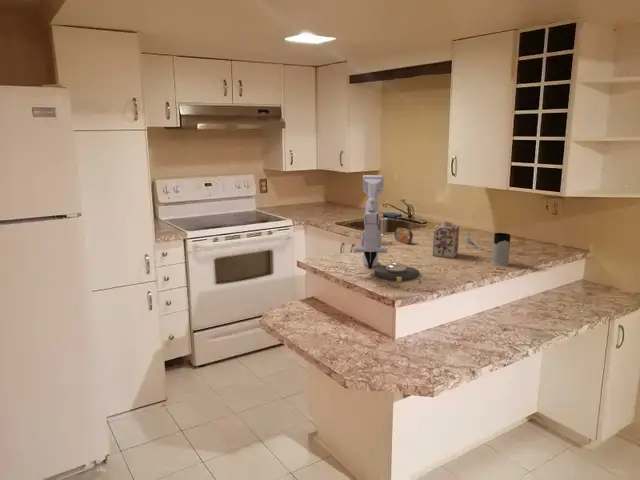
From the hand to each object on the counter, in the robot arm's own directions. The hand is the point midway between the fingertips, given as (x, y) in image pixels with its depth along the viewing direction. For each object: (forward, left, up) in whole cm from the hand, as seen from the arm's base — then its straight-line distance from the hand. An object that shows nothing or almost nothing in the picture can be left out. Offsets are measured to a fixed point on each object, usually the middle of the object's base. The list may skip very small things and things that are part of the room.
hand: (369, 268), depth 223 cm
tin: (-75, +23, -4) cm, 79 cm away
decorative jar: (-45, +42, -4) cm, 62 cm away
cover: (0, +12, -1) cm, 12 cm away
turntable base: (0, +12, -4) cm, 13 cm away
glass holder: (-31, +66, -4) cm, 73 cm away
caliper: (-69, +63, -4) cm, 93 cm away
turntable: (0, +12, -2) cm, 12 cm away
